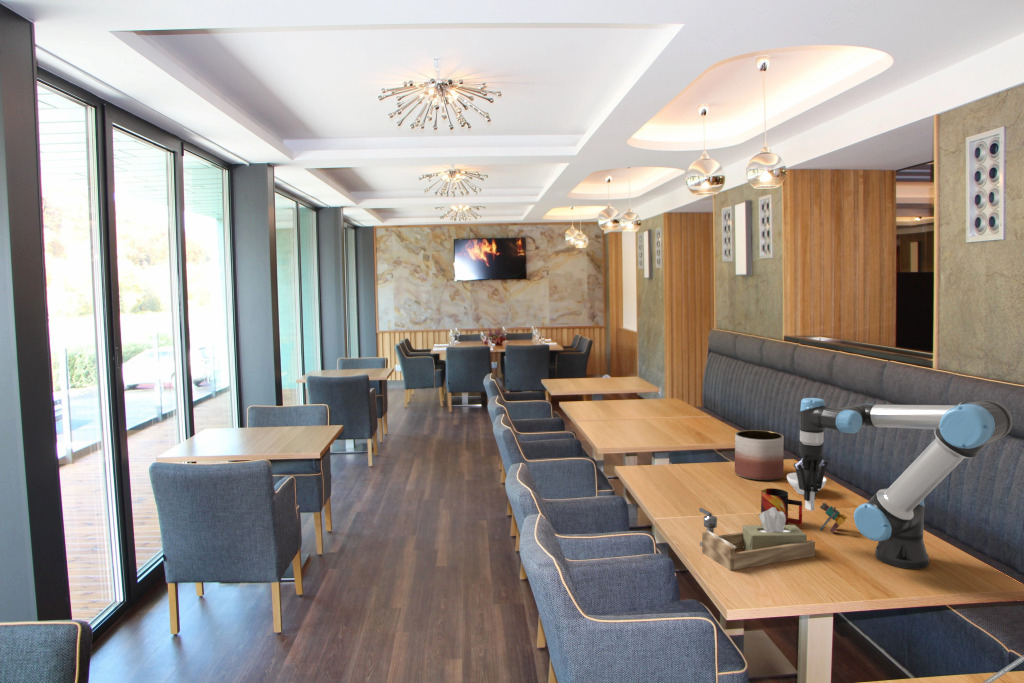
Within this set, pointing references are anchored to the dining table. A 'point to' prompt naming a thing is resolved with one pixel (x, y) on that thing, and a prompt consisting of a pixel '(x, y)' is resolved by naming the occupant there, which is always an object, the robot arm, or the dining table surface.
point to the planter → (759, 455)
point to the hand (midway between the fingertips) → (809, 509)
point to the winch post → (709, 521)
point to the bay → (750, 551)
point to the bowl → (794, 483)
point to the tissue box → (771, 532)
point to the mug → (779, 503)
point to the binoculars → (833, 516)
